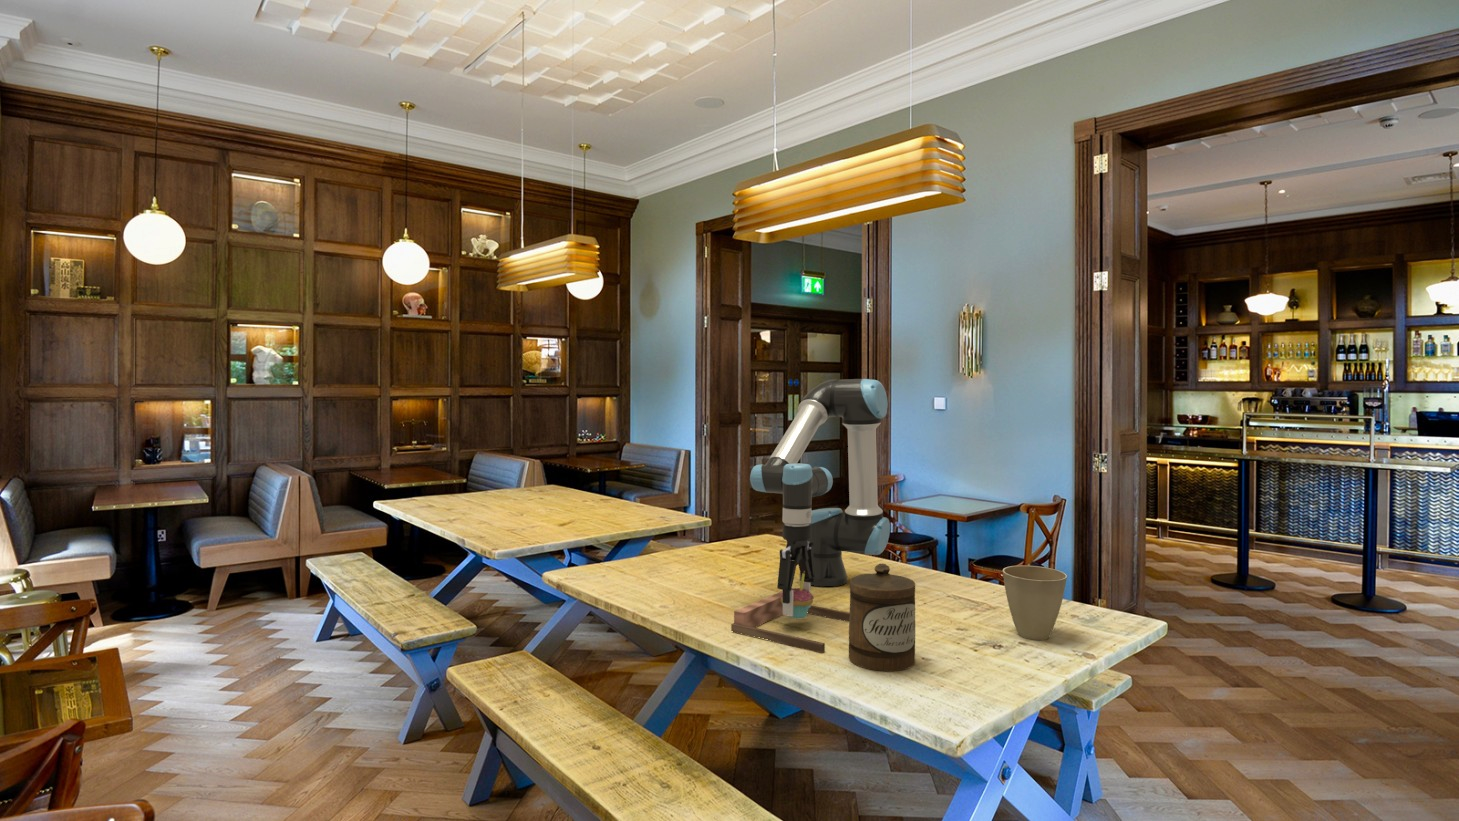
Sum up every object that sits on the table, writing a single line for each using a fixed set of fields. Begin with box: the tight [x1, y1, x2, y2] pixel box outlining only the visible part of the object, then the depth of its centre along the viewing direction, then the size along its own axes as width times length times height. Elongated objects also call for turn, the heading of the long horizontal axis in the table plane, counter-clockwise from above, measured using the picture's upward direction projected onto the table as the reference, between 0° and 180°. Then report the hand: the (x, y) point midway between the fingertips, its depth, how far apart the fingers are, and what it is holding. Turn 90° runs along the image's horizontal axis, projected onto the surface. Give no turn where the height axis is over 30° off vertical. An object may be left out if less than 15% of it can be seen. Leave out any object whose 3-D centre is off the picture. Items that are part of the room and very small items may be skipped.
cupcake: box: [781, 571, 815, 619], centre depth 195 cm, size 9×8×12 cm
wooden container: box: [848, 563, 916, 672], centre depth 171 cm, size 15×15×22 cm
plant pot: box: [1002, 565, 1068, 641], centre depth 189 cm, size 15×15×16 cm
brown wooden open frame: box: [730, 590, 850, 654], centre depth 194 cm, size 26×26×5 cm
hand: (796, 610), depth 195 cm, fingers closed on cupcake, 8 cm apart
